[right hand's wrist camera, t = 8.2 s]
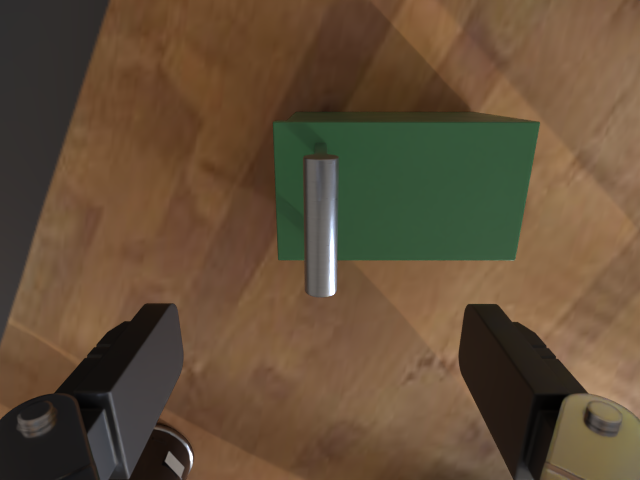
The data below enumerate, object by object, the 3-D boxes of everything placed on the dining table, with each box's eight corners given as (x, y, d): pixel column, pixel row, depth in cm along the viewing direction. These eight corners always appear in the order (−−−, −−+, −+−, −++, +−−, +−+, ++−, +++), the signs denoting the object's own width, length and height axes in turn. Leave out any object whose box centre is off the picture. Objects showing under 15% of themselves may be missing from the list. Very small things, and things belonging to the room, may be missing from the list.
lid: (279, 253, 29) (264, 316, 21) (274, 120, 26) (254, 134, 18) (507, 253, 29) (578, 316, 21) (530, 120, 26) (624, 134, 18)
